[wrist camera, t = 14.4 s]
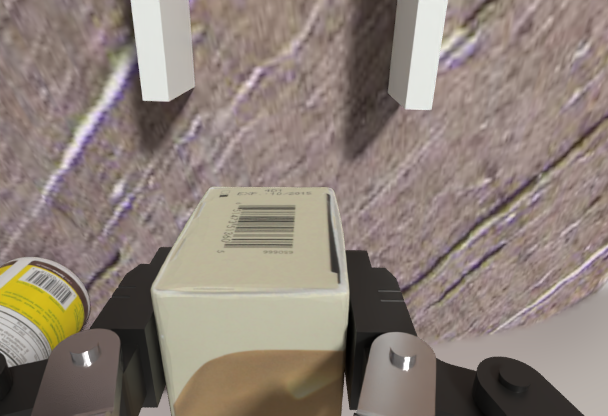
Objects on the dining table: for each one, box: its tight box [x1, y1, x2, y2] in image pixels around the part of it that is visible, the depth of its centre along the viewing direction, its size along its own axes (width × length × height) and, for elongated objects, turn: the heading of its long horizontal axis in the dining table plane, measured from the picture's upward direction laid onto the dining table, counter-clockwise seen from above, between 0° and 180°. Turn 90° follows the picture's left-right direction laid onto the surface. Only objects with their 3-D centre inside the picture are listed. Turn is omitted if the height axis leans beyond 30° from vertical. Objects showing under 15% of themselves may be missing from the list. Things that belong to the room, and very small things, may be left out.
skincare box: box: [151, 187, 349, 416], centre depth 14 cm, size 6×4×12 cm
